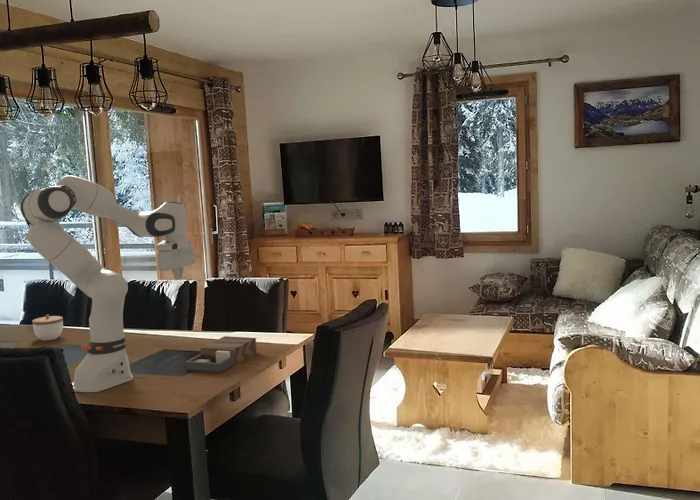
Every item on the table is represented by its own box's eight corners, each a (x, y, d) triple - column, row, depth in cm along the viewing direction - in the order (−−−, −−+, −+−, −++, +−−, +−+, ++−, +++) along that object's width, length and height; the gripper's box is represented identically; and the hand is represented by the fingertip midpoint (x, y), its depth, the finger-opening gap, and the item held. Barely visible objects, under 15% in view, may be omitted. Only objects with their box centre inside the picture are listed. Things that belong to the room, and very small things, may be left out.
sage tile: (210, 359, 234) (210, 364, 234) (198, 358, 235) (199, 364, 235) (203, 363, 229) (203, 368, 229) (191, 362, 231) (191, 367, 231)
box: (219, 373, 225) (219, 363, 224) (186, 370, 229) (185, 361, 229) (233, 365, 234) (233, 356, 234) (201, 363, 239) (200, 354, 238)
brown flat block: (233, 365, 234) (233, 349, 233) (201, 363, 239) (200, 347, 238) (256, 352, 251) (255, 337, 250) (225, 350, 256) (224, 336, 255)
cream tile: (230, 364, 234) (228, 365, 232) (219, 363, 235) (216, 364, 233) (230, 351, 233) (227, 352, 231) (218, 350, 235) (215, 351, 233)
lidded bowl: (44, 343, 278) (42, 318, 277) (27, 340, 285) (25, 316, 284) (70, 336, 289) (68, 313, 288) (53, 334, 295) (51, 311, 294)
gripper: (184, 241, 254) (186, 274, 256) (153, 246, 235) (155, 283, 236) (198, 241, 252) (200, 275, 254) (167, 246, 233) (170, 283, 234)
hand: (178, 279), depth 245 cm, fingers closed
